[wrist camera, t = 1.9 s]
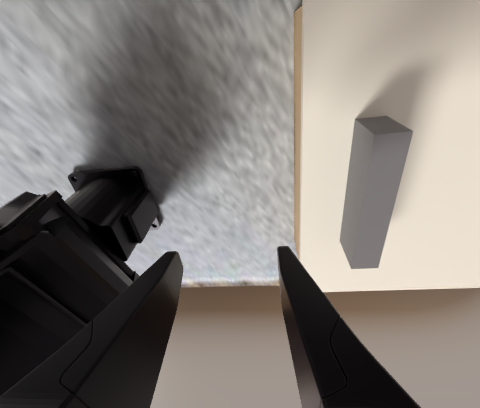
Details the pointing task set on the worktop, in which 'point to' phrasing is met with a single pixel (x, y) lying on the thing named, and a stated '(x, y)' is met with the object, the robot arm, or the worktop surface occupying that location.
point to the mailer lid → (390, 144)
